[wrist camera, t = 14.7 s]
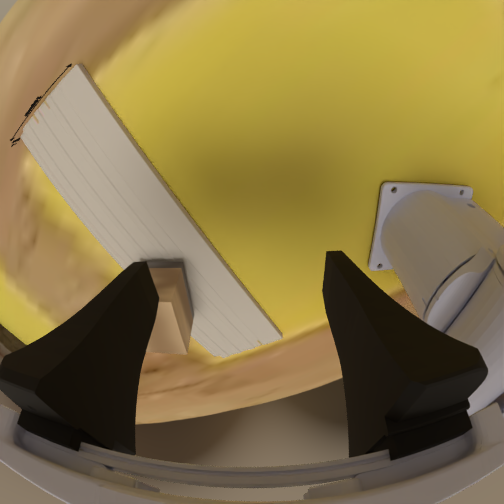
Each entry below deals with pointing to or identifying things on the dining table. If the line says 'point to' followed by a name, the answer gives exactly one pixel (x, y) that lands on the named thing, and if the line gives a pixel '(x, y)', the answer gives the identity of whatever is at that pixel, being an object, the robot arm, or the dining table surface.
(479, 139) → the dining table surface
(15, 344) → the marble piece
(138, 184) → the baseboard
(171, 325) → the block
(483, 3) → the dining table surface
